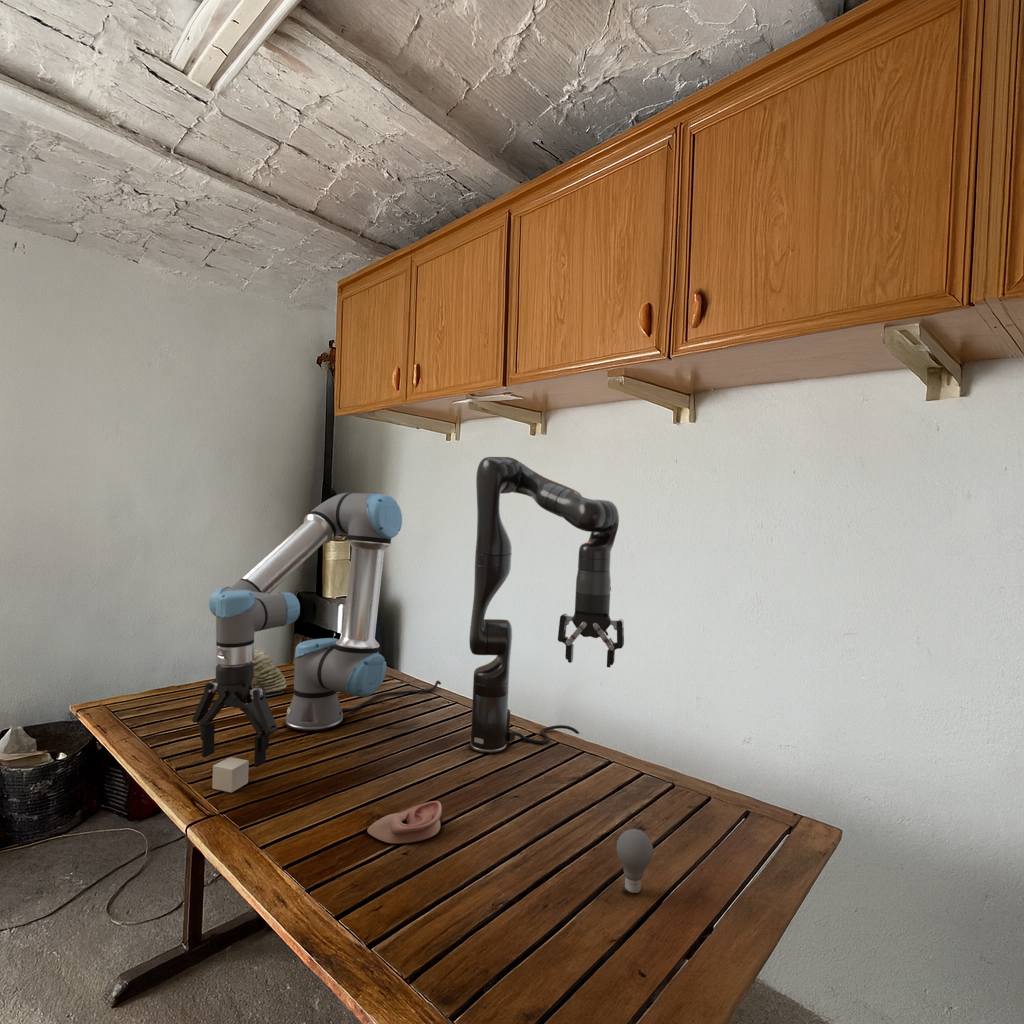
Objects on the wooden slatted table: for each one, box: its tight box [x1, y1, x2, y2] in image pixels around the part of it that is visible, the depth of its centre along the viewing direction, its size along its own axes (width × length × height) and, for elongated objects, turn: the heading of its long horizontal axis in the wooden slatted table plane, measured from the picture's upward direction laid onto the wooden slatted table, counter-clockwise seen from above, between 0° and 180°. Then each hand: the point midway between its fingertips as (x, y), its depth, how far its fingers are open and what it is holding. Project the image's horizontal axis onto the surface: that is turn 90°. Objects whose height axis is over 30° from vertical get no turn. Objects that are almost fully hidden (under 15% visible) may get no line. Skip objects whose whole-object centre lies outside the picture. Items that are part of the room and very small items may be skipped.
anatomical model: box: [366, 800, 443, 845], centre depth 122 cm, size 13×4×12 cm
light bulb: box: [615, 828, 654, 894], centre depth 106 cm, size 6×6×10 cm
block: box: [211, 756, 250, 793], centre depth 137 cm, size 5×5×5 cm
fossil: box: [251, 647, 288, 697], centre depth 198 cm, size 9×18×15 cm, turn 132°
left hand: (233, 759), depth 137 cm, fingers open, 13 cm apart
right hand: (589, 664), depth 139 cm, fingers open, 8 cm apart
